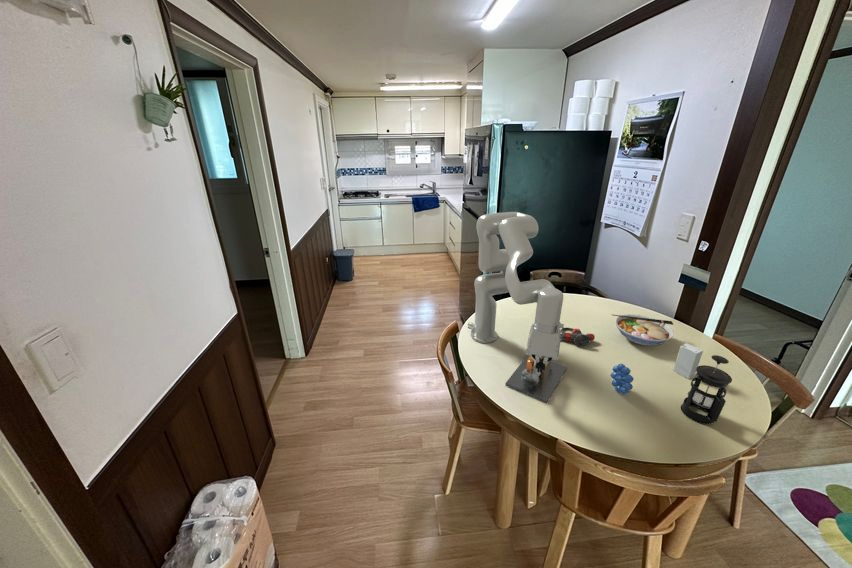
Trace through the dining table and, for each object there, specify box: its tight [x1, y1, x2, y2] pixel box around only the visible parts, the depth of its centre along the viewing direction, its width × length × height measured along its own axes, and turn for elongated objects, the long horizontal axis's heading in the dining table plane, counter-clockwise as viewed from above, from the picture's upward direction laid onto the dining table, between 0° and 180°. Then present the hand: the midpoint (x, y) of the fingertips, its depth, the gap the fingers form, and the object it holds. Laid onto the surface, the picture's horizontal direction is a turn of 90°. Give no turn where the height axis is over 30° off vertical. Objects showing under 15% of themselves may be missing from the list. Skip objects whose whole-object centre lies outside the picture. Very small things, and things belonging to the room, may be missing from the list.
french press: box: [680, 354, 733, 425], centre depth 108 cm, size 12×9×23 cm
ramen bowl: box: [611, 313, 674, 346], centre depth 152 cm, size 25×23×8 cm
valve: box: [560, 327, 596, 348], centre depth 157 cm, size 6×26×15 cm
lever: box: [526, 356, 544, 373], centre depth 122 cm, size 15×3×5 cm, turn 144°
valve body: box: [504, 354, 568, 404], centre depth 130 cm, size 16×24×10 cm, turn 143°
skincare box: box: [672, 343, 704, 380], centre depth 130 cm, size 6×4×12 cm
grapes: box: [610, 363, 634, 395], centre depth 121 cm, size 12×7×12 cm, turn 178°
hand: (539, 370), depth 116 cm, fingers closed
